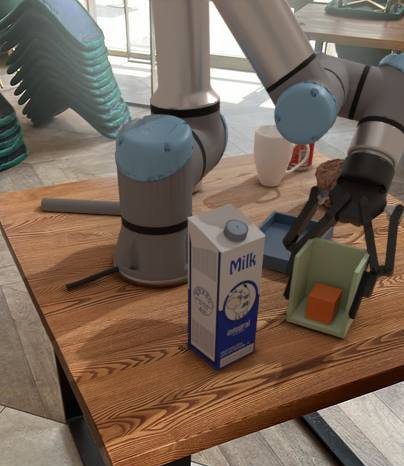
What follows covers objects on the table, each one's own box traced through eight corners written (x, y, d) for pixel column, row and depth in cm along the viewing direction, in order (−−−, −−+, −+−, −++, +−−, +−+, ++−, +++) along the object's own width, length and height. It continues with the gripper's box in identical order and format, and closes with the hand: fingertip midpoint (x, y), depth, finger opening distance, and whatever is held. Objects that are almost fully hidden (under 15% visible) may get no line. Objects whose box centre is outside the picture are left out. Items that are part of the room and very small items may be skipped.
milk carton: (224, 329, 85) (231, 201, 72) (255, 351, 81) (267, 220, 68) (186, 347, 81) (186, 216, 69) (216, 371, 77) (222, 236, 65)
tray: (301, 277, 97) (303, 264, 95) (236, 260, 101) (237, 247, 100) (332, 236, 109) (334, 224, 107) (272, 222, 113) (274, 210, 111)
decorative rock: (376, 198, 123) (387, 151, 117) (372, 220, 115) (383, 171, 108) (315, 190, 126) (322, 144, 120) (307, 210, 118) (314, 162, 111)
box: (301, 298, 91) (311, 235, 84) (356, 314, 88) (372, 250, 81) (285, 320, 86) (294, 256, 79) (343, 338, 83) (358, 272, 76)
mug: (249, 188, 126) (252, 135, 119) (253, 174, 132) (257, 123, 125) (303, 193, 124) (311, 140, 117) (305, 179, 131) (312, 127, 123)
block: (313, 304, 88) (317, 282, 86) (338, 311, 87) (343, 289, 84) (304, 317, 86) (308, 295, 83) (330, 325, 84) (334, 302, 82)
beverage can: (310, 162, 139) (317, 110, 131) (311, 172, 134) (319, 119, 126) (284, 161, 139) (290, 109, 132) (284, 171, 134) (290, 117, 127)
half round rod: (136, 216, 114) (135, 208, 113) (40, 211, 115) (38, 202, 114) (139, 207, 117) (139, 199, 116) (46, 202, 118) (45, 194, 117)
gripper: (445, 189, 83) (393, 334, 82) (303, 161, 91) (255, 293, 90) (450, 165, 76) (394, 323, 75) (296, 136, 84) (243, 280, 83)
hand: (318, 307), depth 82 cm, fingers closed on box, 9 cm apart
